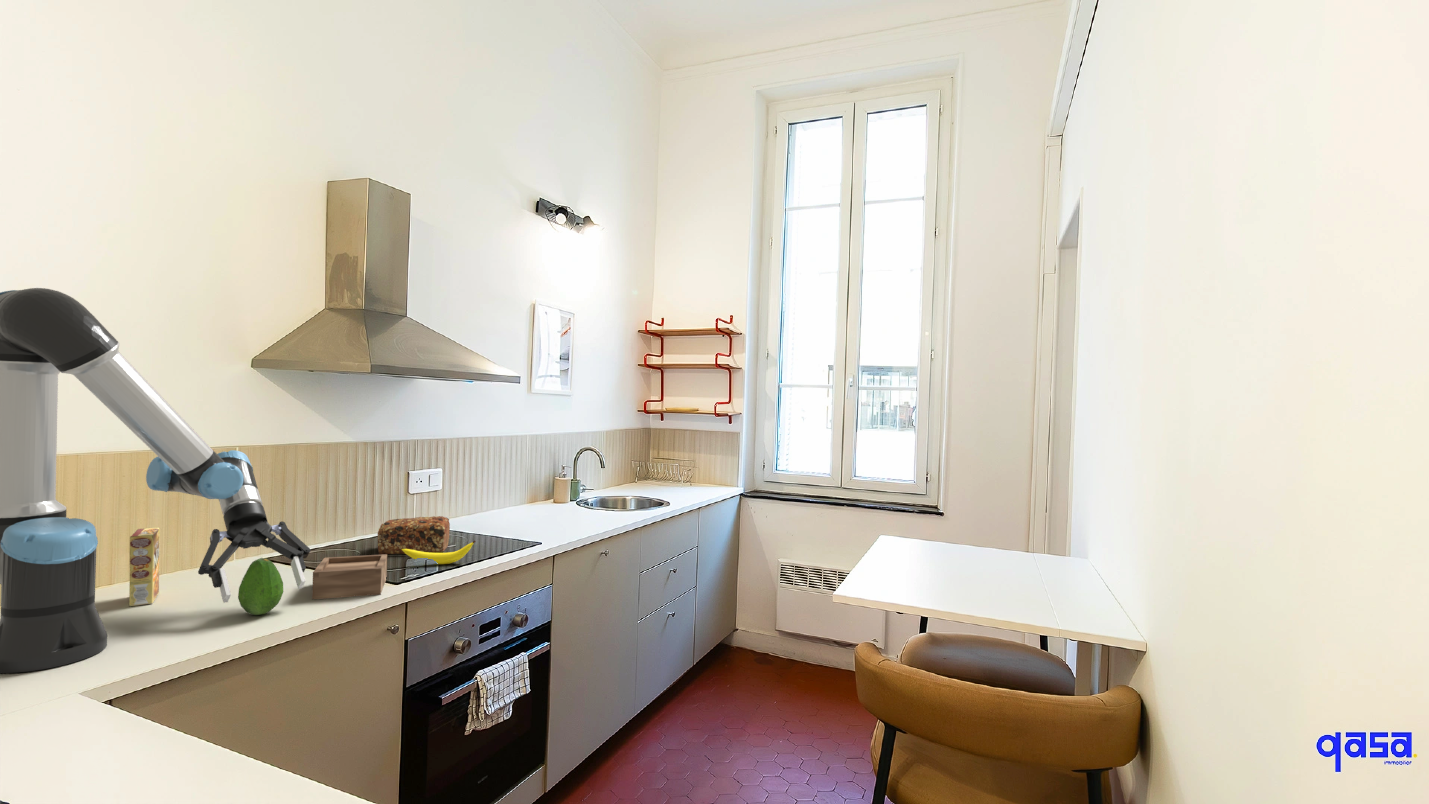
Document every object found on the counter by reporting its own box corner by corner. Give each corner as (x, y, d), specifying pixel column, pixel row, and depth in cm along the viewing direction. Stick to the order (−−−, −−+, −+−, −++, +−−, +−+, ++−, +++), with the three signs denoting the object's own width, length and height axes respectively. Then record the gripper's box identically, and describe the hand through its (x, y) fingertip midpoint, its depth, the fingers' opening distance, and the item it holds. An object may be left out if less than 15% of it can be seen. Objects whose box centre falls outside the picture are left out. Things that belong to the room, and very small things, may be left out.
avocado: (249, 623, 134) (251, 564, 134) (230, 615, 138) (231, 558, 138) (290, 612, 141) (292, 556, 141) (271, 605, 145) (272, 551, 145)
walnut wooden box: (380, 594, 155) (381, 568, 155) (312, 599, 150) (312, 572, 150) (386, 578, 168) (387, 554, 168) (323, 582, 163) (324, 557, 163)
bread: (450, 545, 205) (451, 514, 205) (443, 554, 195) (444, 520, 195) (385, 547, 201) (386, 514, 201) (375, 555, 191) (376, 521, 191)
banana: (401, 565, 180) (402, 542, 180) (474, 561, 187) (475, 539, 187) (400, 568, 178) (401, 545, 178) (475, 564, 184) (475, 541, 184)
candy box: (153, 604, 143) (154, 534, 143) (127, 607, 141) (129, 536, 141) (159, 593, 151) (161, 526, 150) (135, 596, 148) (136, 528, 148)
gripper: (300, 514, 159) (324, 588, 150) (169, 528, 139) (188, 615, 130) (309, 495, 156) (335, 570, 146) (176, 507, 136) (196, 594, 127)
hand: (265, 591), depth 138 cm, fingers open, 13 cm apart
